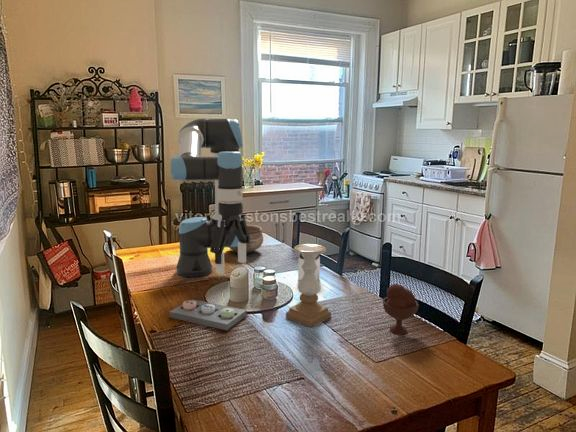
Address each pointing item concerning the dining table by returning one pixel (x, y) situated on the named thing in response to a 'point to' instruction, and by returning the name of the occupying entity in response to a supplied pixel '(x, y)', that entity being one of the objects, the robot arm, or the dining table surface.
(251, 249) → the cooking pot
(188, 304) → the button two
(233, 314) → the button one
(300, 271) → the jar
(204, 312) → the button three
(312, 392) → the dining table surface
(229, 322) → the keypad board
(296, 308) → the candle holder
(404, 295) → the ice cream bowl
